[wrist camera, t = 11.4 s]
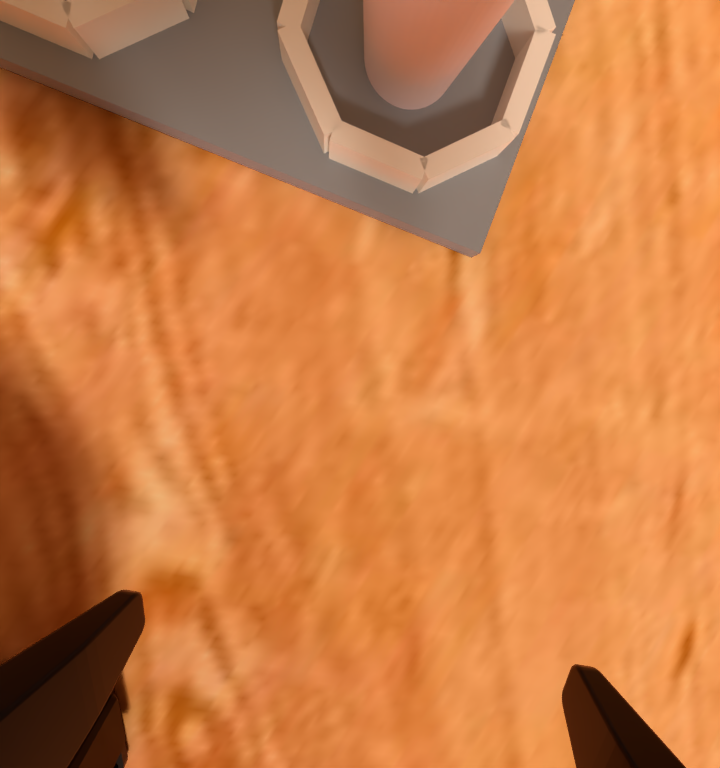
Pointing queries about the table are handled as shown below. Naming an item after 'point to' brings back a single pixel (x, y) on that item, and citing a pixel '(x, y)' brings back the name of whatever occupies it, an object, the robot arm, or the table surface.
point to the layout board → (270, 124)
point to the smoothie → (423, 45)
